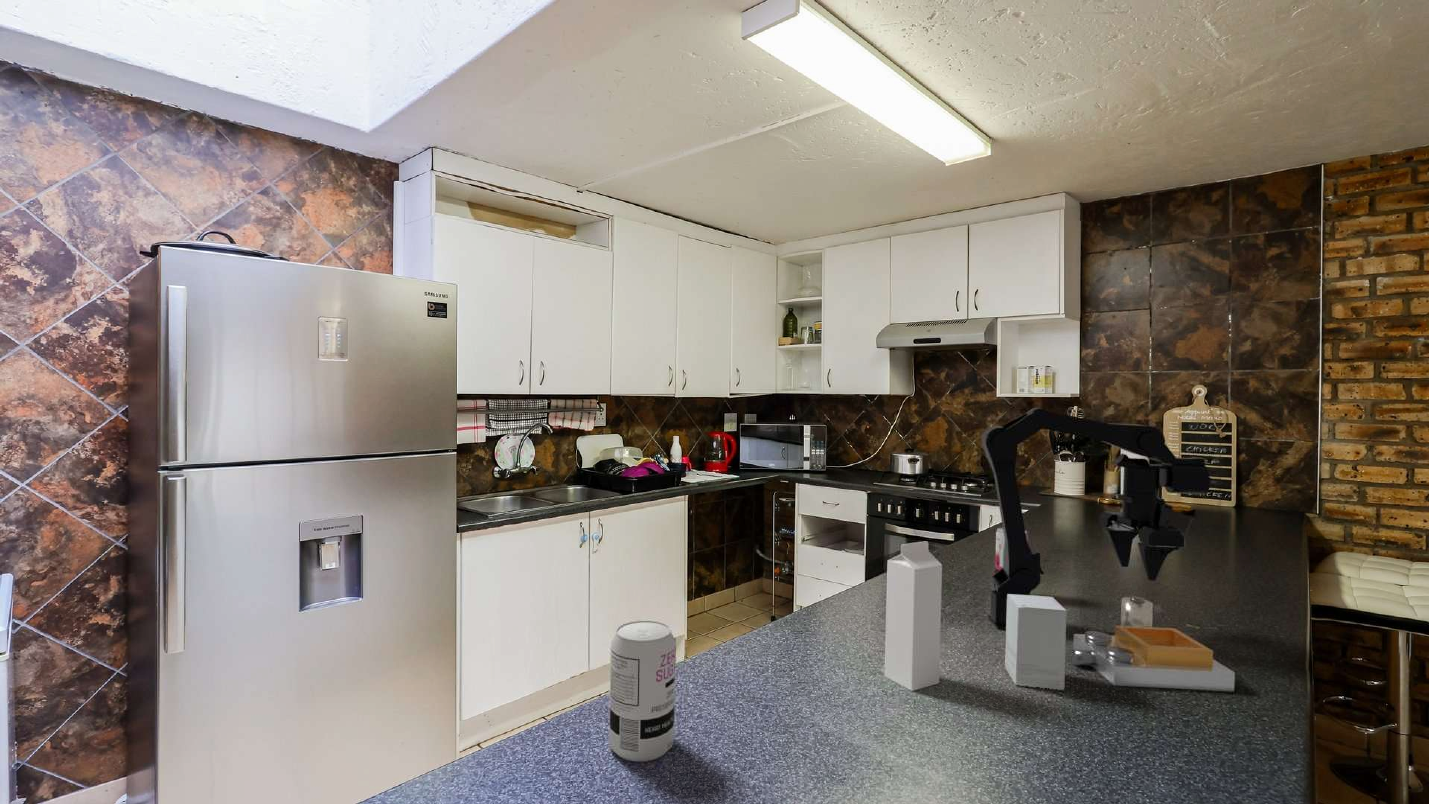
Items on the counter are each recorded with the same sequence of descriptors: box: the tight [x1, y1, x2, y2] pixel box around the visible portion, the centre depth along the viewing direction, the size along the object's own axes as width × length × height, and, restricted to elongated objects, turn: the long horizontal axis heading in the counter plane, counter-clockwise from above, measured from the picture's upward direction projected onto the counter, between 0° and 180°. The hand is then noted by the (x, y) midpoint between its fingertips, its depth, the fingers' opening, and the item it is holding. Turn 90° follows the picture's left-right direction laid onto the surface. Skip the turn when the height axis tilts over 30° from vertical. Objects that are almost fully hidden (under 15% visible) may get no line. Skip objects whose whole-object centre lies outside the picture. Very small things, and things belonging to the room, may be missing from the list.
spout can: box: [1120, 595, 1164, 627], centre depth 126 cm, size 7×5×8 cm
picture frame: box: [1070, 625, 1236, 692], centre depth 112 cm, size 21×14×6 cm, turn 86°
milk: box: [884, 541, 943, 692], centre depth 105 cm, size 6×6×22 cm
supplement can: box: [608, 620, 677, 763], centre depth 85 cm, size 8×8×15 cm
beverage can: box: [993, 527, 1029, 591], centre depth 150 cm, size 6×7×15 cm
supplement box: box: [1004, 594, 1068, 691], centre depth 107 cm, size 7×7×13 cm
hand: (1137, 573), depth 126 cm, fingers open, 9 cm apart
